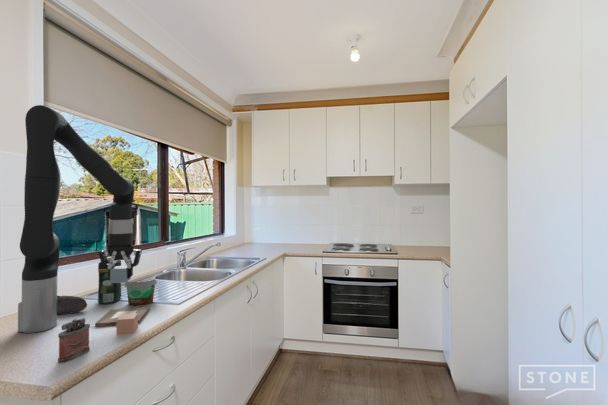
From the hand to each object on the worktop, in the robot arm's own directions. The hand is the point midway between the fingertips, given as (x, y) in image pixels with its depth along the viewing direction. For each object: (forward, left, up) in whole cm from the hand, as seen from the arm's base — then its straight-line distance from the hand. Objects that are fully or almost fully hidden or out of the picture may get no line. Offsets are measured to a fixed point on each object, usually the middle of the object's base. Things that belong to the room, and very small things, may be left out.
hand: (120, 278), depth 111 cm
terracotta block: (+5, -10, -16) cm, 19 cm away
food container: (+1, +18, -16) cm, 24 cm away
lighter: (-4, -25, -16) cm, 30 cm away
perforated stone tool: (-24, +13, -16) cm, 31 cm away
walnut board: (0, +3, -16) cm, 16 cm away
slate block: (0, 0, -1) cm, 1 cm away
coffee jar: (-13, +26, -16) cm, 33 cm away
